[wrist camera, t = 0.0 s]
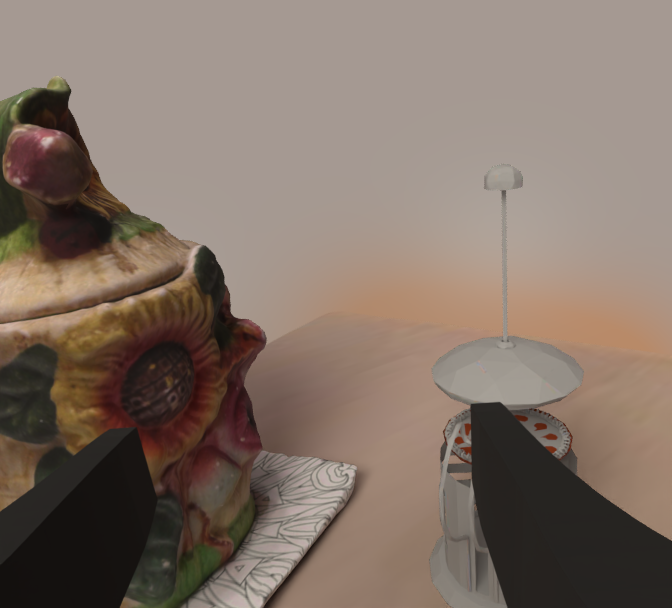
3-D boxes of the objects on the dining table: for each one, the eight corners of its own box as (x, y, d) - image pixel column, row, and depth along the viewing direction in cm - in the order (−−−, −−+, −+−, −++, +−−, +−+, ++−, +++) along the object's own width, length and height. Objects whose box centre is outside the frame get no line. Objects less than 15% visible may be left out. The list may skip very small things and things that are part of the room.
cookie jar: (-133, 620, 39) (-366, 107, 29) (145, 431, 59) (66, 89, 49) (133, 799, 27) (-104, 31, 17) (370, 487, 47) (327, 48, 37)
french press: (610, 546, 39) (633, 148, 31) (551, 689, 30) (561, 187, 22) (468, 499, 44) (456, 154, 36) (385, 608, 36) (344, 187, 28)
